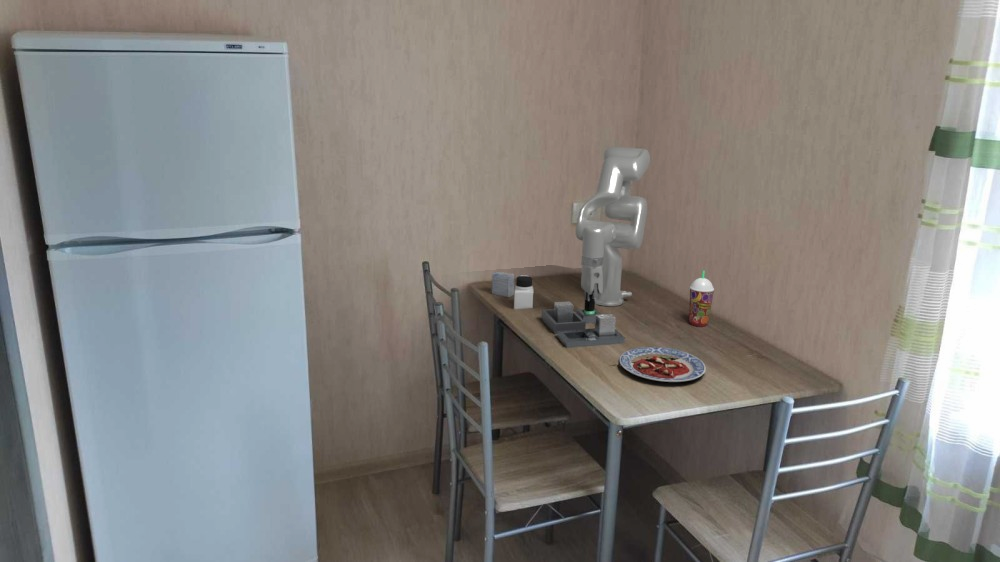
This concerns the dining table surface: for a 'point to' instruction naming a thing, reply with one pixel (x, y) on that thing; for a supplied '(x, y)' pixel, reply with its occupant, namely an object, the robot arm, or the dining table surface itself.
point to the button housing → (588, 316)
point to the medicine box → (503, 284)
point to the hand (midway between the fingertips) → (589, 310)
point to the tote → (551, 323)
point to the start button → (589, 312)
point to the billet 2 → (605, 325)
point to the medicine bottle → (523, 292)
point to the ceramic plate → (663, 365)
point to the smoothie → (700, 301)
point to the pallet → (587, 338)
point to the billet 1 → (563, 312)
